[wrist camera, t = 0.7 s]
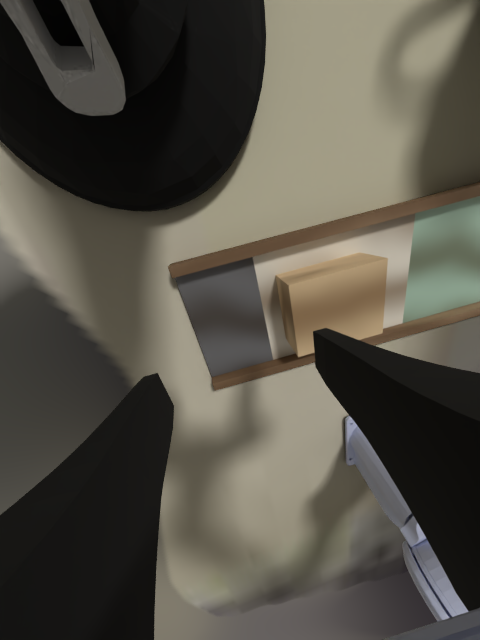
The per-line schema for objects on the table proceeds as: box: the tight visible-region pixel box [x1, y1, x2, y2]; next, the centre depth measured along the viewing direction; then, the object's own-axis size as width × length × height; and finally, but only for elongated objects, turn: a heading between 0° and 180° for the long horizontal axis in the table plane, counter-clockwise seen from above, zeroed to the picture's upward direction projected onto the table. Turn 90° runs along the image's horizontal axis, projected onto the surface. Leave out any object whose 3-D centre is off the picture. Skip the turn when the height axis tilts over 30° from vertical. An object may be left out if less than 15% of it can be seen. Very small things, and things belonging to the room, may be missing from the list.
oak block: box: [276, 252, 388, 357], centre depth 17 cm, size 6×7×3 cm
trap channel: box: [168, 182, 480, 390], centre depth 18 cm, size 12×34×1 cm, turn 103°
